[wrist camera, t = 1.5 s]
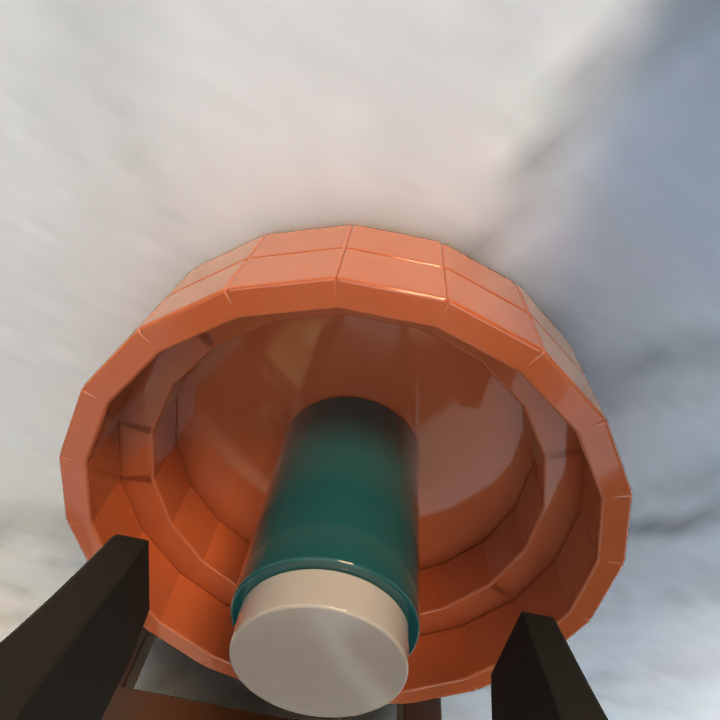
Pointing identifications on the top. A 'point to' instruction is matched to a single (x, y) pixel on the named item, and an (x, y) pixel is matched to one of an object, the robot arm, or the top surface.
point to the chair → (184, 716)
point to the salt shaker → (333, 565)
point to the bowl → (372, 382)
